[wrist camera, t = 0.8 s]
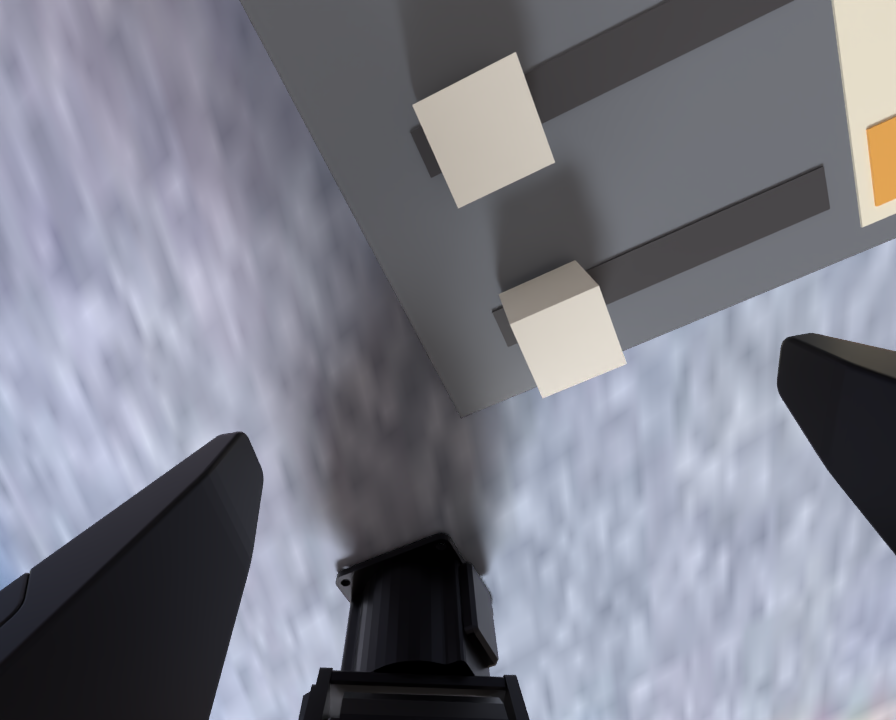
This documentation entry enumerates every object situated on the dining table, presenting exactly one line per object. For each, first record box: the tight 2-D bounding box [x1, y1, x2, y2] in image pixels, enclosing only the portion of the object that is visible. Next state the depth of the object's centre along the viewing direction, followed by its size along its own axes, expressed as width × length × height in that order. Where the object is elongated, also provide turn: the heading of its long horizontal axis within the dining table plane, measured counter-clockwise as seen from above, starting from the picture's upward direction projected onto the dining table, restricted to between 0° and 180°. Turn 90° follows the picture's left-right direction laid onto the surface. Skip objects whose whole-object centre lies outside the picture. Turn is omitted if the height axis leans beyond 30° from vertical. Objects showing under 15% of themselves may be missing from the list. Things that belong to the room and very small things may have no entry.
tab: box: [412, 52, 555, 208], centre depth 17 cm, size 3×3×3 cm
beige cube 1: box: [499, 260, 627, 398], centre depth 19 cm, size 3×3×3 cm
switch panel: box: [240, 0, 896, 418], centre depth 18 cm, size 20×20×2 cm
